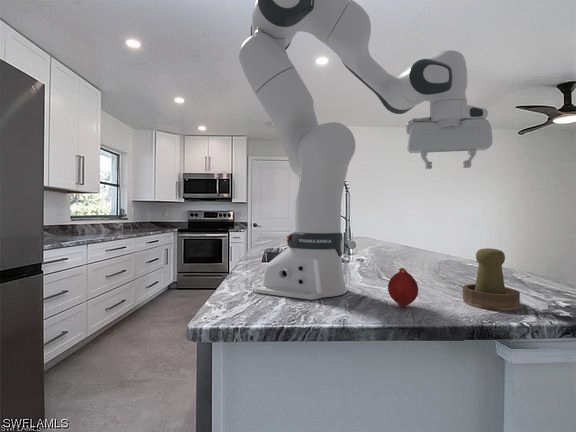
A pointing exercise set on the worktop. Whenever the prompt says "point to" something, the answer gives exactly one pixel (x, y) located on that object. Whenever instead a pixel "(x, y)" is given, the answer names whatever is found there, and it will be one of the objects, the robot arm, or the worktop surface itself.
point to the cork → (490, 271)
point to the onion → (403, 288)
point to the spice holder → (492, 299)
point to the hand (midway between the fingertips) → (447, 168)
